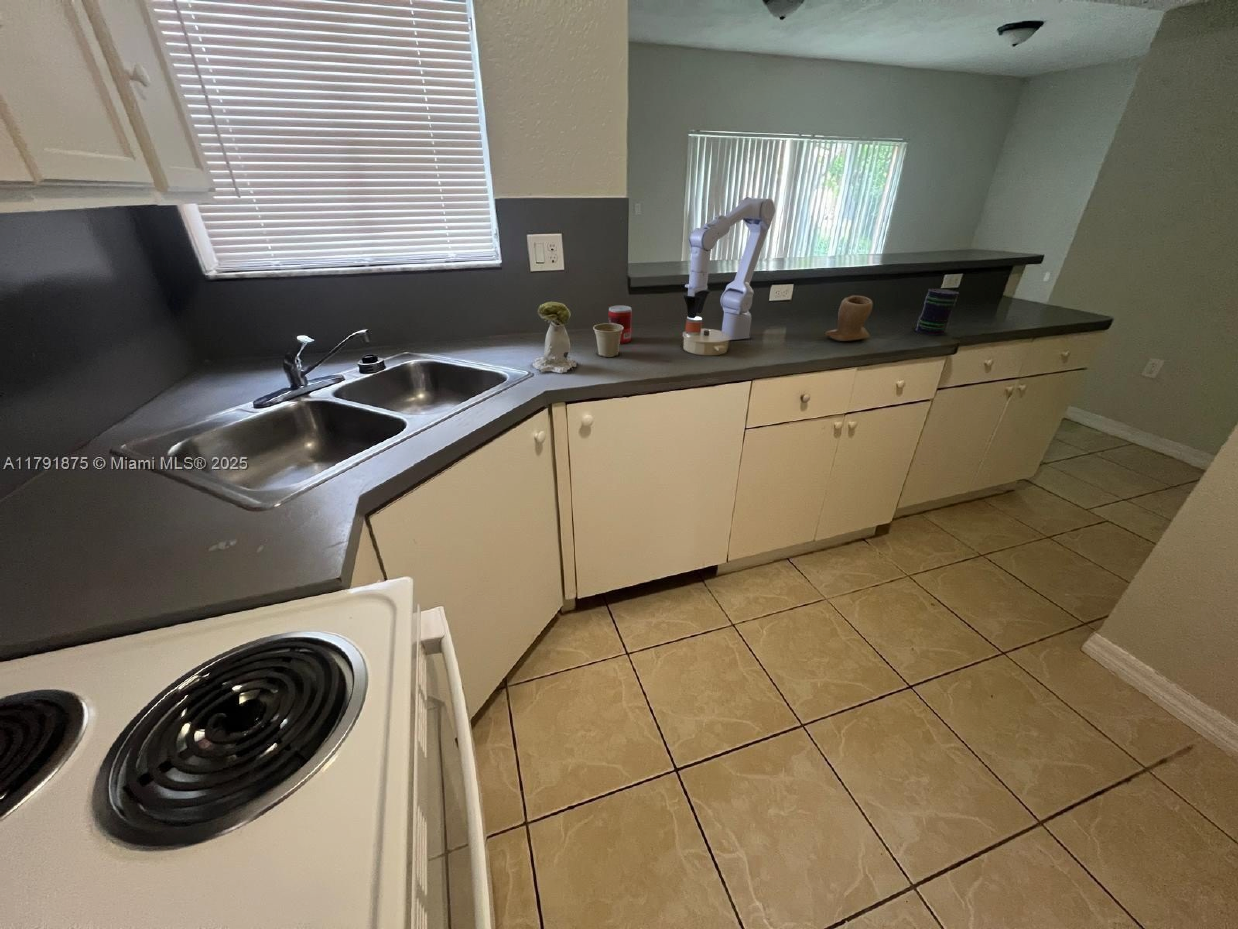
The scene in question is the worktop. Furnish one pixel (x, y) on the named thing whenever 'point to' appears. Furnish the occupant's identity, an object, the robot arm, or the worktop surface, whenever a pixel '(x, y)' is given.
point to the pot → (705, 347)
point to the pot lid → (708, 336)
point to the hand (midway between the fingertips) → (694, 315)
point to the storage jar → (936, 311)
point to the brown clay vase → (852, 319)
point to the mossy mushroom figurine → (555, 339)
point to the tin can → (693, 326)
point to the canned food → (621, 320)
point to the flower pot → (608, 338)
